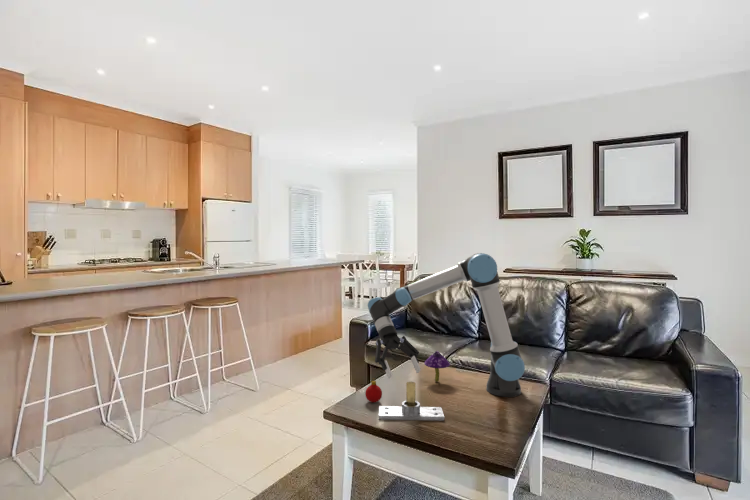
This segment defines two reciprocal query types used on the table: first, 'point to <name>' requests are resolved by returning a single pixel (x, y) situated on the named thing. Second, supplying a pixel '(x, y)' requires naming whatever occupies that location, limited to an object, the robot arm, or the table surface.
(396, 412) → the hinge leaves
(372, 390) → the christmas ornament
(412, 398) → the hinge pin
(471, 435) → the table surface
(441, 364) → the decorative mushroom
